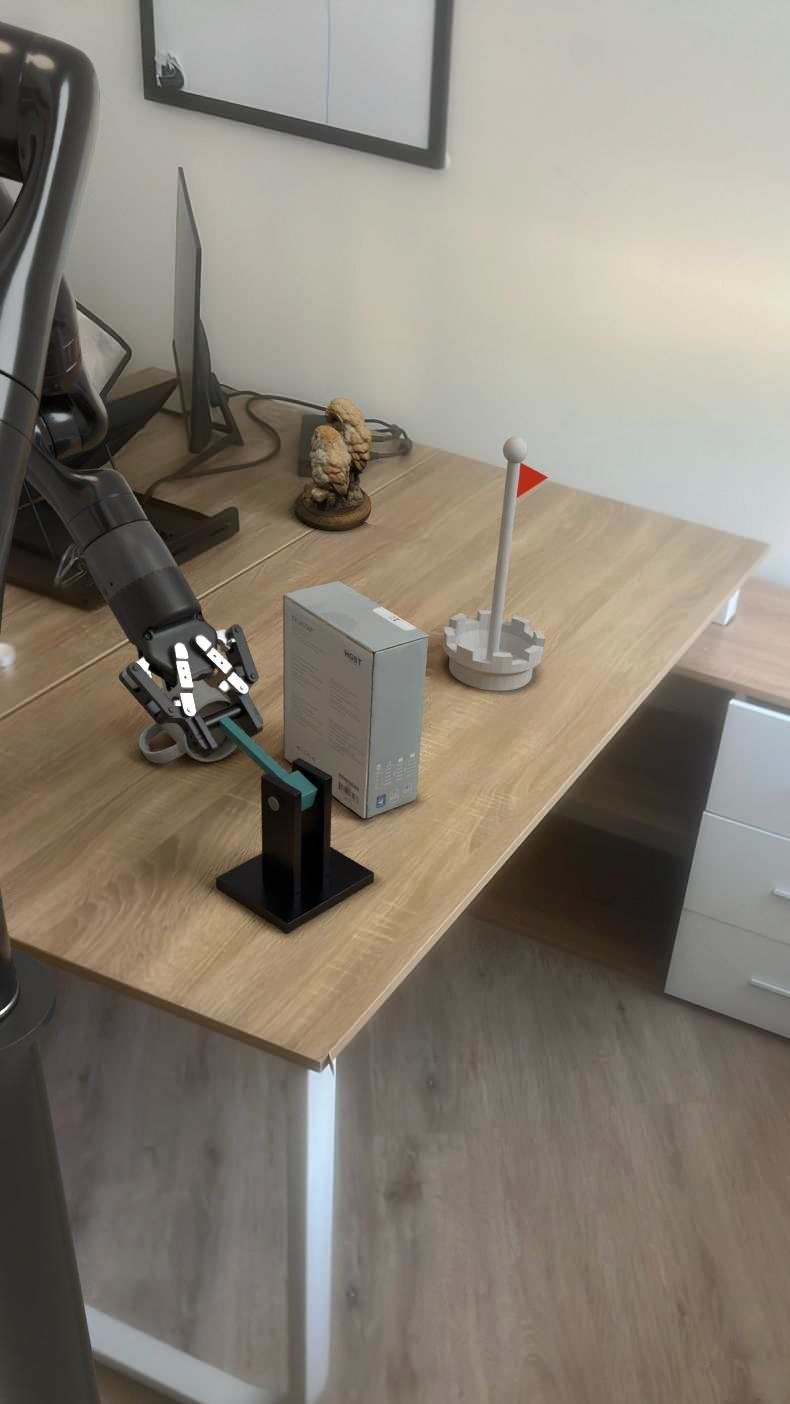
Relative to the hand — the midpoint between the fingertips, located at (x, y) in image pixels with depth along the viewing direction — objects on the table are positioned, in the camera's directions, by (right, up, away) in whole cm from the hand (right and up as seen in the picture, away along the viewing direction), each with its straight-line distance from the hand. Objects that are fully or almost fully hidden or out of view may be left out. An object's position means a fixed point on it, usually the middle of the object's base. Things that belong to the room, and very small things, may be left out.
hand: (234, 743), depth 123 cm
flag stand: (+23, +17, +45) cm, 53 cm away
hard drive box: (+8, -1, +20) cm, 22 cm away
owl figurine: (-3, +50, +79) cm, 94 cm away
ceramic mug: (-10, +3, +21) cm, 23 cm away
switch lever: (+2, -2, -1) cm, 3 cm away
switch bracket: (+5, -13, +5) cm, 15 cm away
